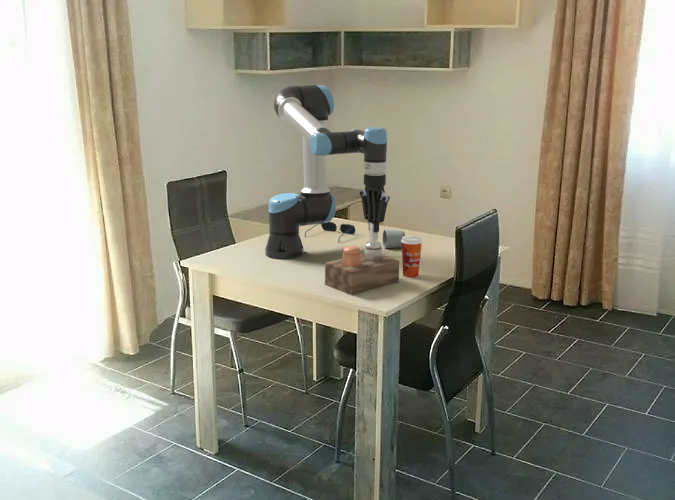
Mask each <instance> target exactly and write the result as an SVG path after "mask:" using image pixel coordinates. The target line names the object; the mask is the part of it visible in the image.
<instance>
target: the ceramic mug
mask: <svg viewBox="0 0 675 500" xmlns="http://www.w3.org/2000/svg"><path fill="white" fill-rule="evenodd" d="M404 236H406V233H405V231H404V230H402V229H387V228H386V229H383V233H382V246H383V248H384V249H400V248H401V249H402V242H401V240H402V238H403V237H404Z"/></svg>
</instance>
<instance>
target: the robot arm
mask: <svg viewBox="0 0 675 500" xmlns="http://www.w3.org/2000/svg"><path fill="white" fill-rule="evenodd" d="M334 101H335V100H334V97H333V94H332V92H331V90H330V89H329V87H327V86H326V85H322V84H321V85H320V84H309V85H308V84H307V85H288V86H286V87H283V88H282V89H280V90H279V91H278V92H277V94H276V95H275V96H274V100H273V108H274V112H275V114H276V115H277V117H279V119H281V121H284V122H286V123H287V122H288V123H289V124H290V125H291V126H292V127H293V128H294V129H295V130H297V131H298V132H299V133H300V134H301V135H302V156H303V157H302V159H303V163H302V164H303V165H302V166H303V188H302V189H301V190H300V196H299V194H298V193H295V192H289V193H286V192H284V193H280V194H276V195H274V196H272V197H271V198H270V199H269V202H268V208H267V209H268V224H269V225H268V226H269V227H268V228H269V229H268V230H269V232H268V233H269V234H268V238H267V242H266V246H265V249H264V251H265V253H264V254H265V256H267V257H268V258H272V259H281V260H282V259H284V260H286V259H295V258H299V257H301V256H303V255H304V254H305V253H304V252H305V251H304V250H305V249H304V245H303V242H302V238H301V236H300V227H304V226H311V225H312V226H315V225H317V224H318V225H321V224H322V223H327V222H332V220H333V218H334V217H335V215H336V210H337V202H336V199H335V196H334V195H333V194H332V193H331V189H329V188H328V187H327V182H326V181H327V179H326V176H327V175H326V156H331V155H332V156H333V155H345V154H356V153H357V154H363V172H364V174H363V185H364V186H365V187H364V190H362V191H359V195H360V198H361V206H362V211H363V218H364V220H366V221H367V222H368V231H369V236H368V237H369V241H368V242H374V241H375V242H379V232H380V223H383V222H384V221H385V217H386V211H387V208H388V207H387V206H388V202H389V201H390V199H391V197H390V196H389V195H386V193H385V192H386V191H385V186H386V185H387V183H386V182H387V175H386V173H387V152H388V151H387V148H388V147H387V146H388V137H387V136H388V135H387V132H388V131H387V129H386V128H384V127H378V126H377V127H375V126H374V127H373V126H371V127H366V128H365V129H364V130H361V129H351V130H349V131H332V130H330V129H329V128H327V126H326V124H327V122H328V121H329V116H331V115H332V114H333V112H334V110H335V102H334Z"/></svg>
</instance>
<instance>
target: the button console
mask: <svg viewBox="0 0 675 500" xmlns="http://www.w3.org/2000/svg"><path fill="white" fill-rule="evenodd" d="M399 282H400V260H399V259H396V258H393V257H390V256H387V255H384V254H382V260H378V261H374V262H372V261H369V260H366V259H364V253H361V265H358V266H354V267H349V266H346V265H343V258H339V259H336V260H331V261H328V262H326V261H325V263H324V285H325V286H327V287H330V288H332V289H334V290H337V291H340V292H343V293H344V294H347V295H349V296H353V295H356V294H357V295H358V294H361V293H363V292H364V293H365V292H368V291H371V290H375V289H379V288H382V287H383V288H384V287H386V286H391V285H393V284H397V283H399Z"/></svg>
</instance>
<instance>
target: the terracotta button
mask: <svg viewBox="0 0 675 500" xmlns="http://www.w3.org/2000/svg"><path fill="white" fill-rule="evenodd" d="M361 254H362V253H361V248H360V247H359V246H354V245H350V246H349V245H347V246H344V247H343V252H342V259H343V265H346V266H349V267H354V266H358V265H361Z"/></svg>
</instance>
